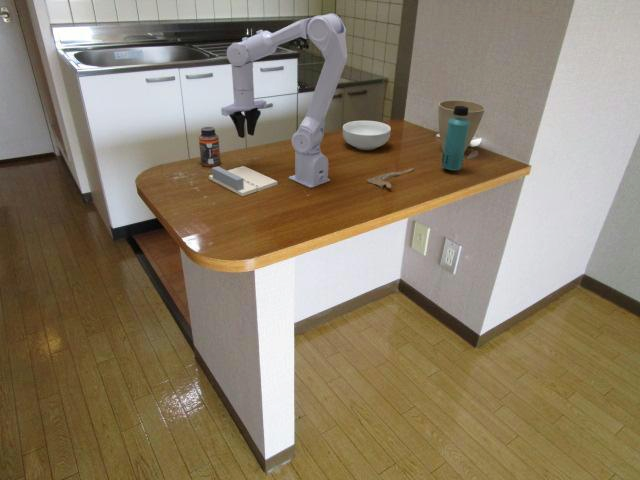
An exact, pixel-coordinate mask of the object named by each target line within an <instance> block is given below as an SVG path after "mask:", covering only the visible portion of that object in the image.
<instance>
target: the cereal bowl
mask: <svg viewBox="0 0 640 480" xmlns="http://www.w3.org/2000/svg"><path fill="white" fill-rule="evenodd" d="M391 129H392V128H391V126H390V125H389V124H386V123H384V122H380V121H376V120H354V121H353V120H352V121H348V122H347V123H345V124H343V125H342V136H343V140H344V141H345V142H346V143H347V144H349V145H350V146H352V147H355V148H356V149H357V150H361V151H373V150H375V149H377V148H379V147H382V146H384V145H385V144H386V143H387V142H388V141H389V140H390V137H391Z"/></svg>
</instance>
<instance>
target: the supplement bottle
mask: <svg viewBox="0 0 640 480" xmlns="http://www.w3.org/2000/svg"><path fill="white" fill-rule="evenodd" d="M215 129H216V128H215V127H214V126H213V127H212V126H204V127H201V129H200V131H201V132H200V133H201V134H200V135H199V136H198V143H199V154H200V163H201V165H202V166H203V167H209V168H213V167H217V166H220V165H221V151H220V149H221V148H220V141H219V139H220V138H219V136H218V134H216V130H215Z"/></svg>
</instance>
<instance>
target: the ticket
mask: <svg viewBox="0 0 640 480" xmlns="http://www.w3.org/2000/svg"><path fill="white" fill-rule="evenodd" d="M227 171H229V172H231V173H233V174H235V175H237V176H239V177H241V178H243V181H244V182H246V183H248V184H250V185H252V186H254V187H256V188H257V192H260V191H263V190H266V189H269V188H271V187H274V186H277V185H278V181H277V180H275V179H273V178H271V177H269V176H266V175H264V174H262V173H260V172H258V171H256V170H254V169H251V168H249V167H247V166H245V165H242V166H238V167H234V168H232V169H228V170H227Z"/></svg>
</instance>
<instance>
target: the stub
mask: <svg viewBox="0 0 640 480" xmlns="http://www.w3.org/2000/svg"><path fill="white" fill-rule="evenodd" d="M208 179H209V180H211V181H212V182H214V183H216V184H218V185H219V186H222V187H224V188H225V189H228V190H229V191H232V192H234V193H235V194H237V195H239V196H241V197H245V196H247V195H251V194H254V193H255V192H258V191H257V188H256V187H254V186H252V185H250V184H248V183H246V182H244V181H243V178H241V177H239V176H237V175H235V174H233V173H231V172H229V171H228V170H226V169H225V168H223V167H221V166H219V165H217V166H213V167H211V174H210V175H208Z"/></svg>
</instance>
